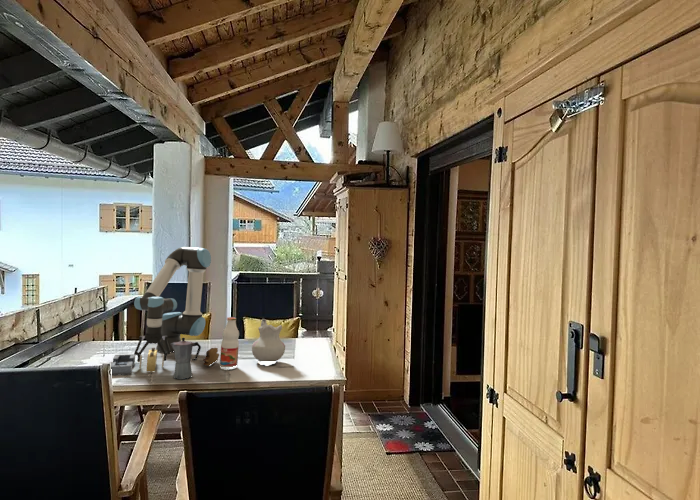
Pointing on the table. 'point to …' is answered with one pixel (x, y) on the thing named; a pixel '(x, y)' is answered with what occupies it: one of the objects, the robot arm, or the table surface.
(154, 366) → the yellow block with knob
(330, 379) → the table surface
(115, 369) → the end link
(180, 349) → the moka pot
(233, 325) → the fruit juice
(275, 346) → the ceramic pitcher
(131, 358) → the end link
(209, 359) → the wooden carving
